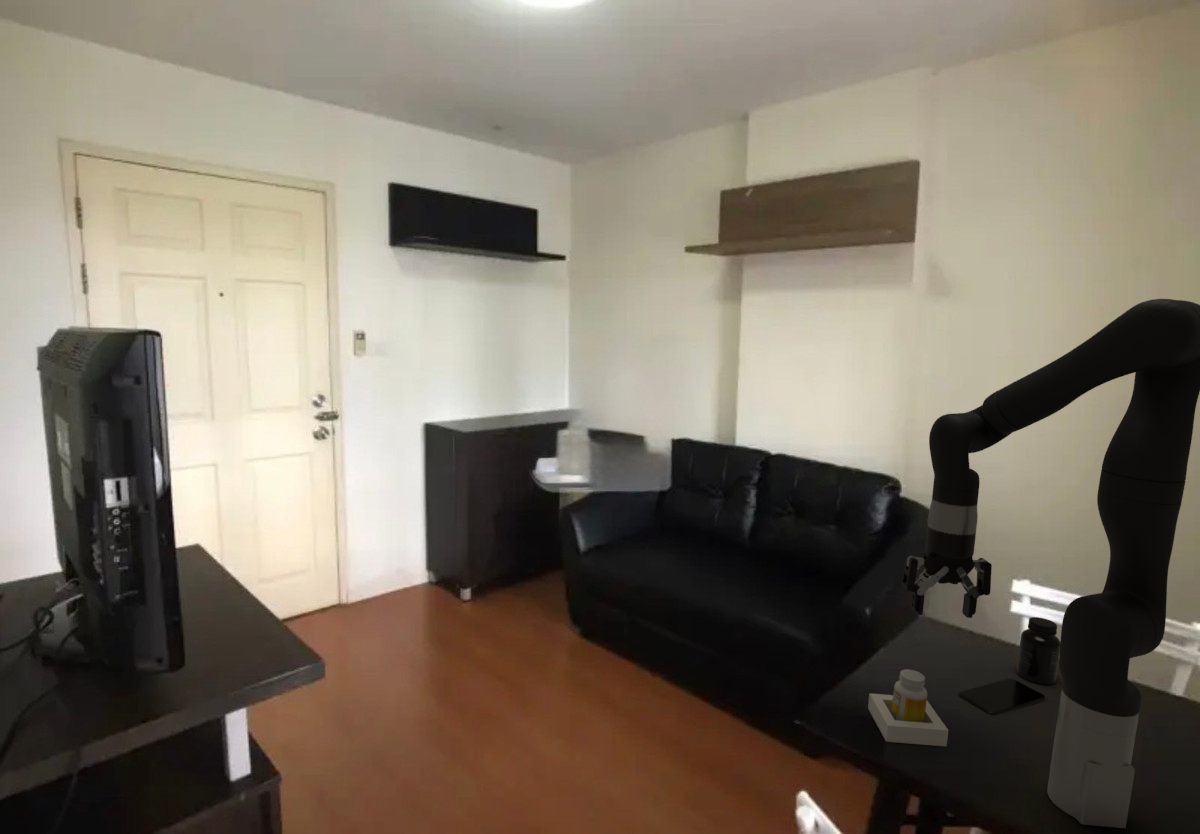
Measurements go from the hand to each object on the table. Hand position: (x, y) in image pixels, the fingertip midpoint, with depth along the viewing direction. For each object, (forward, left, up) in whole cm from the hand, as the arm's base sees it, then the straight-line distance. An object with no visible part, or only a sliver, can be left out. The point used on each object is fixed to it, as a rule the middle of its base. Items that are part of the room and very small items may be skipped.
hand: (942, 614), depth 118 cm
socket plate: (-3, +6, -20) cm, 21 cm away
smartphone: (+10, -17, -21) cm, 29 cm away
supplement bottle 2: (+19, -28, -21) cm, 40 cm away
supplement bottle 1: (-3, +5, -20) cm, 21 cm away
